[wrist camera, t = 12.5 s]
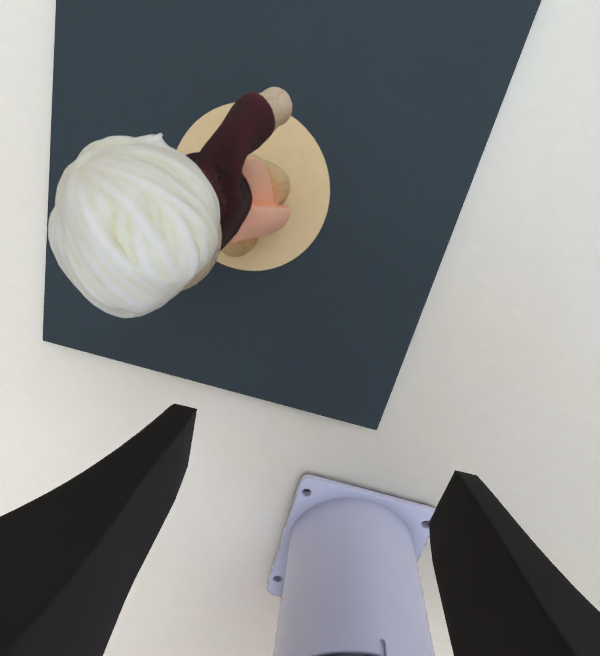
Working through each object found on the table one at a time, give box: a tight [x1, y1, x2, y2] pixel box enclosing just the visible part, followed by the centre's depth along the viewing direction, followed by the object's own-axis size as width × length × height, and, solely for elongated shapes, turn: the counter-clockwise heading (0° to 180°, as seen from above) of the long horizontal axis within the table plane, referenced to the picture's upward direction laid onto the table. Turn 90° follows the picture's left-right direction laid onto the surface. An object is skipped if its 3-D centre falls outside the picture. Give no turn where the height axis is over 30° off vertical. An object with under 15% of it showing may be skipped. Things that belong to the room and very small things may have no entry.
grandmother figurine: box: [48, 87, 292, 318], centre depth 13 cm, size 8×4×13 cm, turn 153°
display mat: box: [43, 0, 541, 430], centre depth 19 cm, size 20×18×1 cm
